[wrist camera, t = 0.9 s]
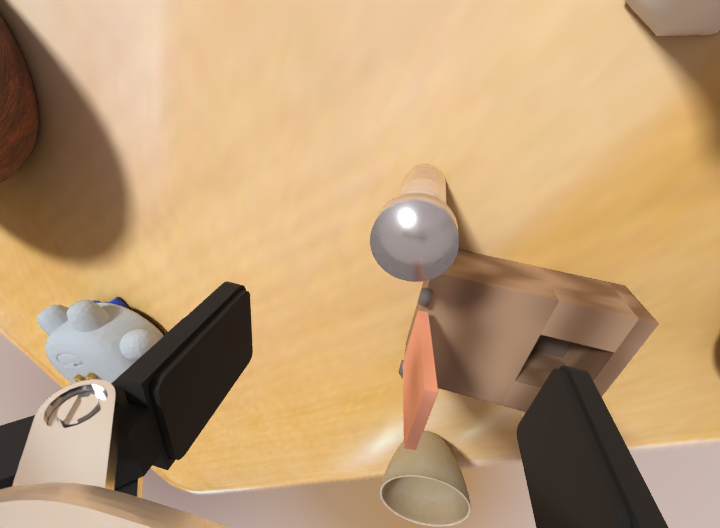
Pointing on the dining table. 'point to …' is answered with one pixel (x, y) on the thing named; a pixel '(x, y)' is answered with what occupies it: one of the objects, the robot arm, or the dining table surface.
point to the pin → (416, 228)
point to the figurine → (95, 339)
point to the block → (526, 328)
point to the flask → (679, 16)
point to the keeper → (418, 381)
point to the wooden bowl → (15, 106)
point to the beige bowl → (426, 484)
